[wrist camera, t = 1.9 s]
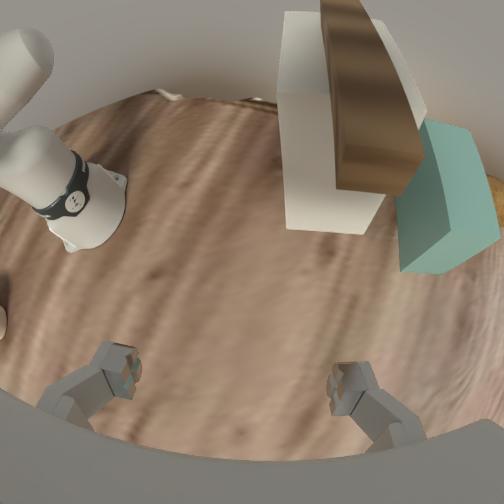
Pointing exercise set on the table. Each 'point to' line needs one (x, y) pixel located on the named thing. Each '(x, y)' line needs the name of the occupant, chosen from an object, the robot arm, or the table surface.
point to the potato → (497, 197)
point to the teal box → (445, 204)
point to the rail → (367, 105)
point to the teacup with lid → (2, 322)
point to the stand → (321, 130)
